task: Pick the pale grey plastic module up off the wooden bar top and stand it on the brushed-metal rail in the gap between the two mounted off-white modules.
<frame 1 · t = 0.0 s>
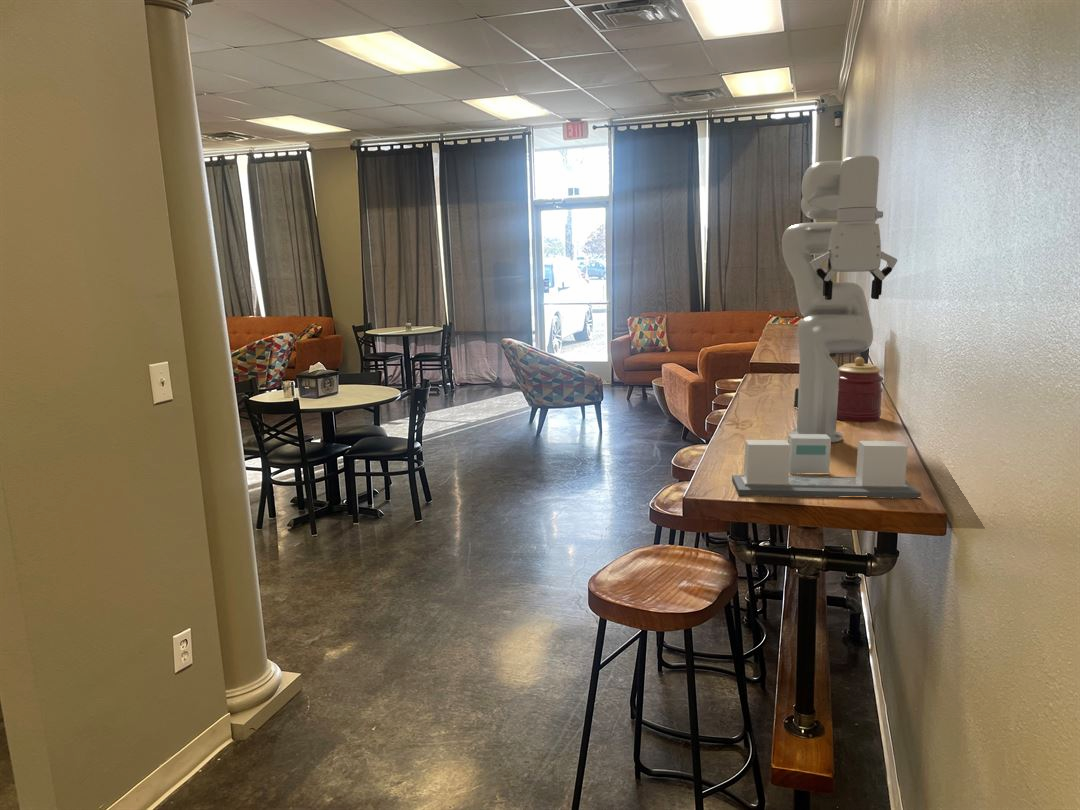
hand: (851, 299, 157), 37 cm above the table, tool pointing down, fingers open, 9 cm apart
canister: (855, 418, 210), on the table
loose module: (807, 471, 158), on the table
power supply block: (757, 475, 157), on the table
mounted modules: (823, 462, 145), on the metal rail, point 6 cm above the table
handheld radio: (811, 403, 233), on the table
metal rail: (822, 482, 146), on the rail board, point 1 cm above the table
rail board: (821, 489, 146), on the table
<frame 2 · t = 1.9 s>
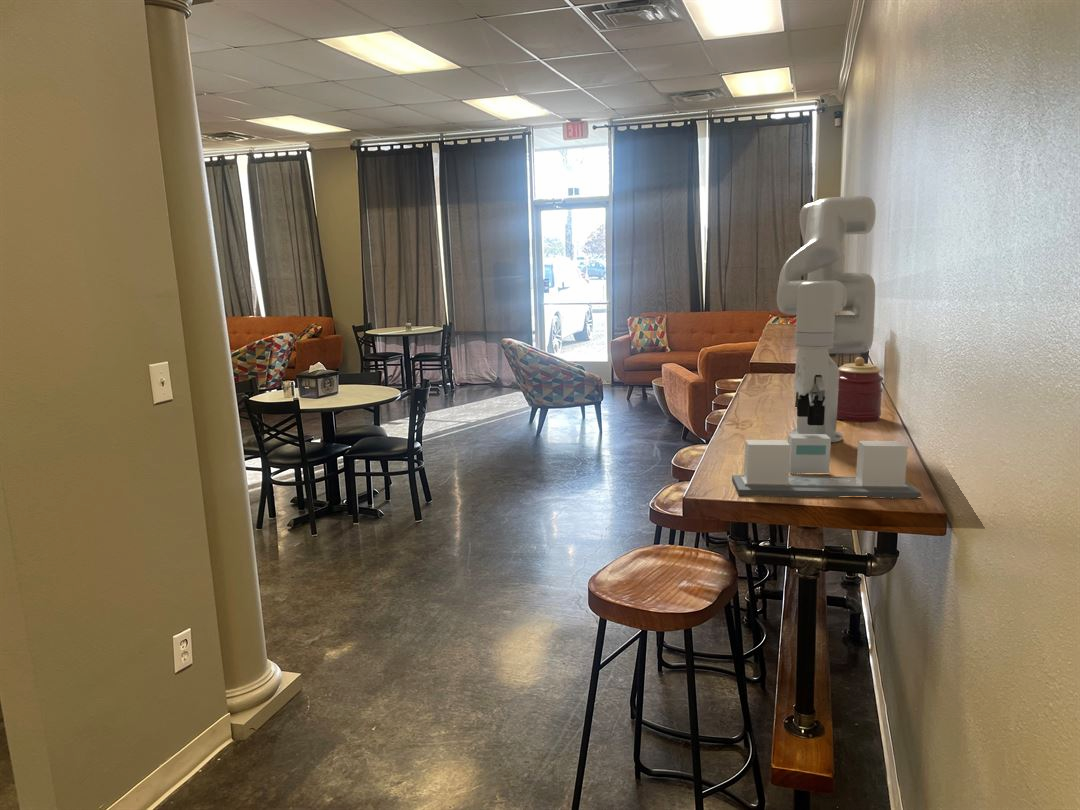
hand: (809, 420, 155), 12 cm above the table, tool pointing down, fingers open, 9 cm apart
nothing on the table moved.
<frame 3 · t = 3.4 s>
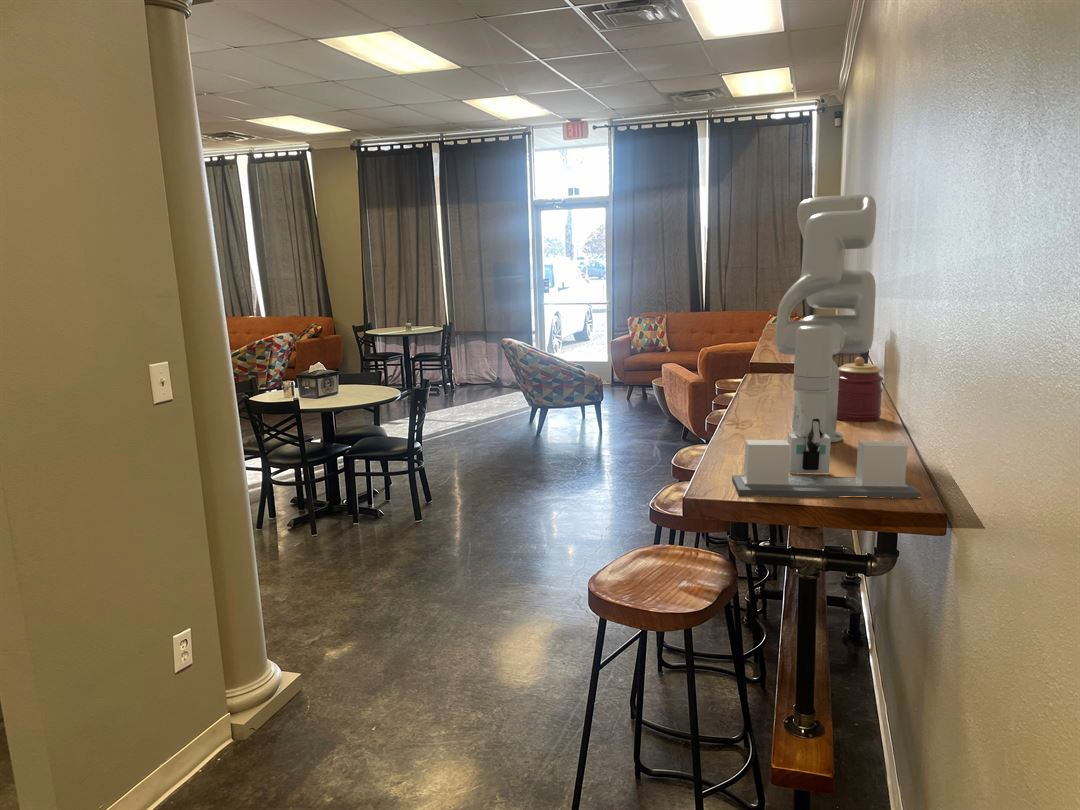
hand: (807, 465, 158), 1 cm above the table, tool pointing down, fingers closed on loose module, 4 cm apart
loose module: (807, 471, 158), on the table, touching gripper
everything else where it was.
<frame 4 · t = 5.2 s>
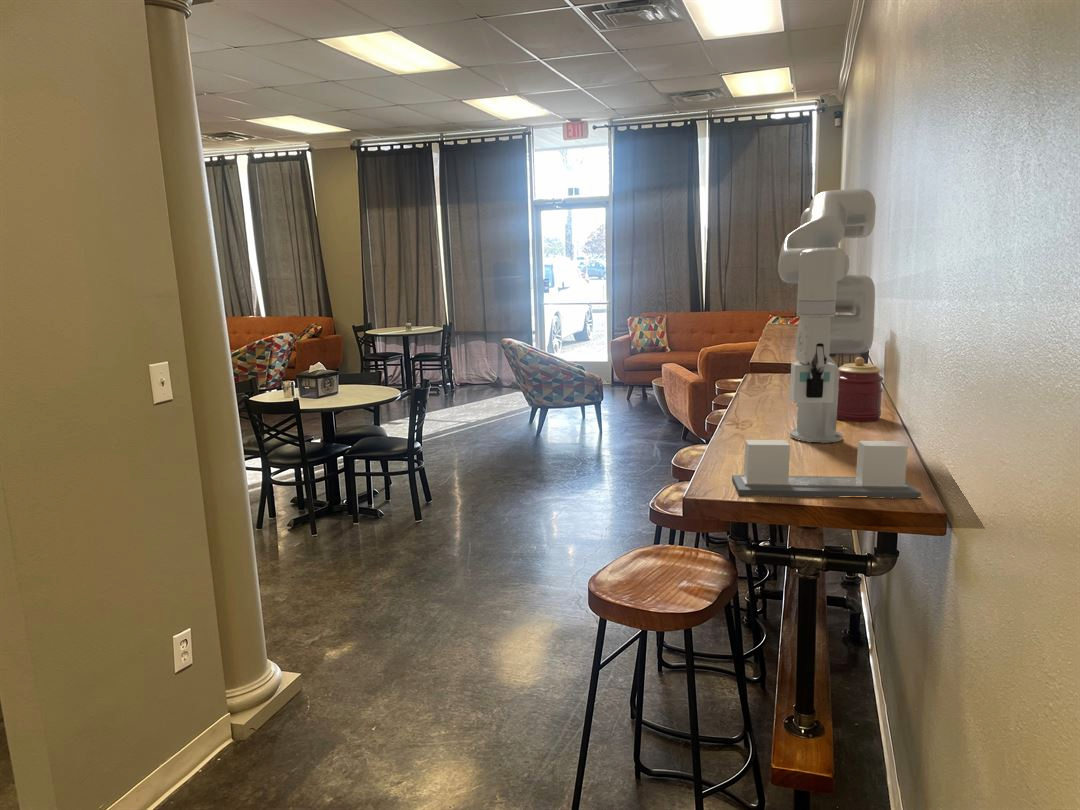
hand: (811, 394, 155), 17 cm above the table, tool pointing down, fingers closed on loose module, 4 cm apart
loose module: (811, 400, 155), point 16 cm above the table, touching gripper
everything else where it was.
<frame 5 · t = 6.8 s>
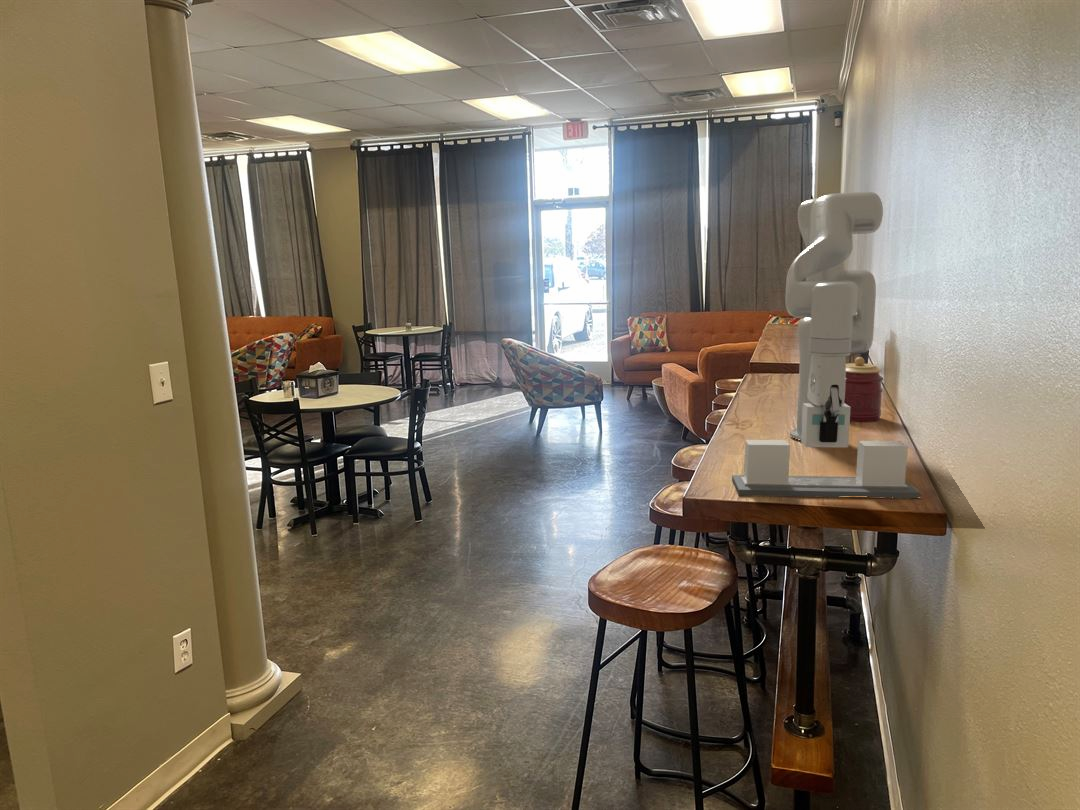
hand: (824, 438, 144), 11 cm above the table, tool pointing down, fingers closed on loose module, 4 cm apart
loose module: (824, 444, 144), point 9 cm above the table, touching gripper
when the fingers open (4 cm above the table, at t = 8.4 s): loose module drops 1 cm, resting on metal rail.
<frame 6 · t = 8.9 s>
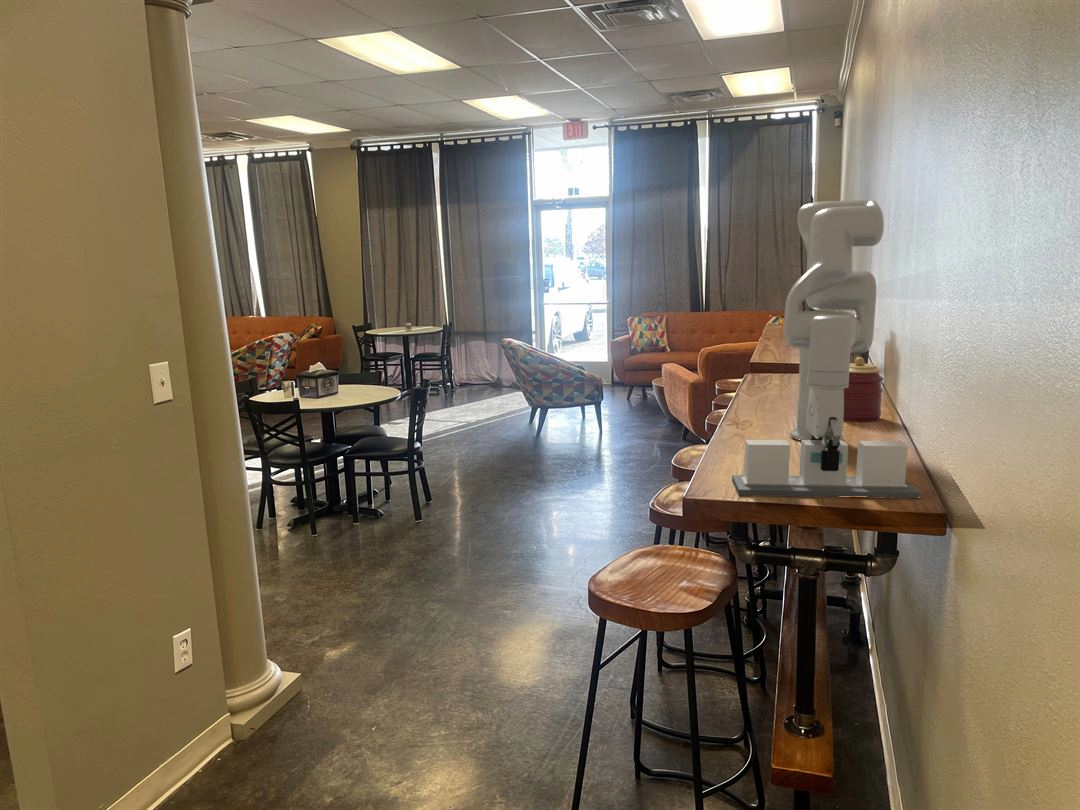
hand: (823, 463, 145), 5 cm above the table, tool pointing down, fingers open, 9 cm apart
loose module: (822, 481, 146), point 2 cm above the table, touching metal rail
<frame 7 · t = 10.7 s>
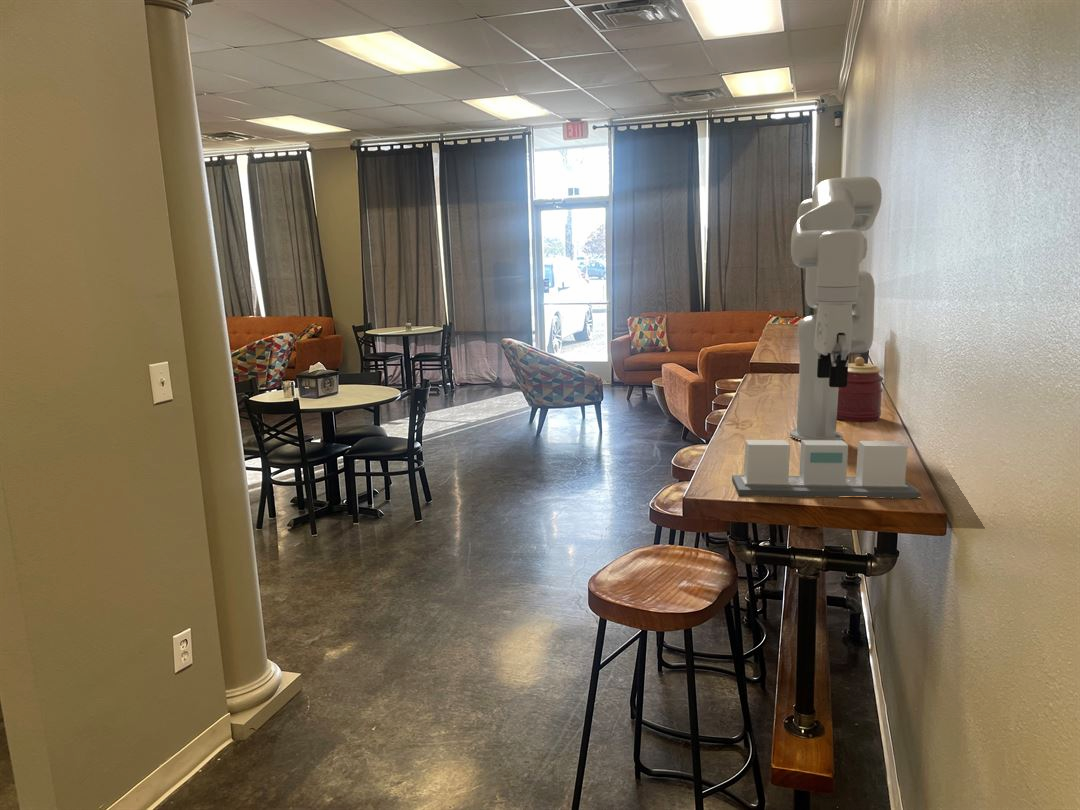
hand: (831, 382, 145), 21 cm above the table, tool pointing down, fingers open, 9 cm apart
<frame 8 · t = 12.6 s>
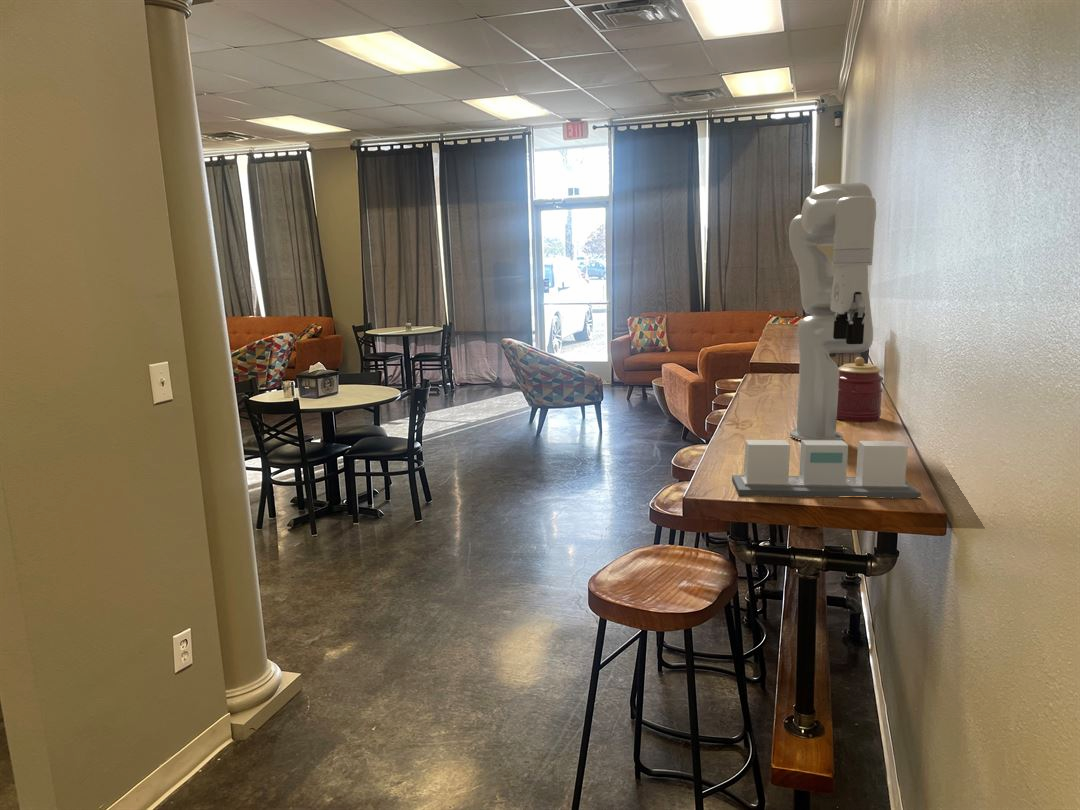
hand: (847, 341, 153), 28 cm above the table, tool pointing down, fingers open, 9 cm apart
at the end: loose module 0.2 cm off-centre on the rail board, point 1.6 cm above the rail board's base; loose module tilted 0°; the gripper is holding nothing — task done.
